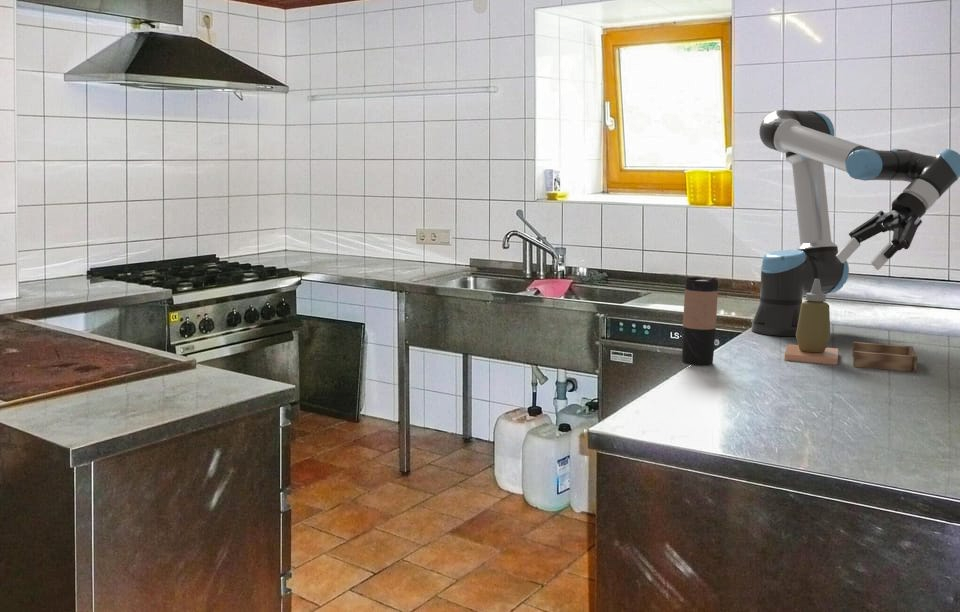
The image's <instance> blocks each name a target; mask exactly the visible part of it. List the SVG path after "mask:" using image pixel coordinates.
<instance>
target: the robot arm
mask: <svg viewBox="0 0 960 612" xmlns="http://www.w3.org/2000/svg"><path fill="white" fill-rule="evenodd" d="M834 127H835V126H834V124H833V121H831V119H830V118H829V116H827V115H826V114H824V113H821V112H817V111H813V110H793V109H792V110H791V109H790V110H788V109H779V110H775V111H773V112H771V113H769V114H767V115H766V116H765V117H764V118H763V120H762V121H761V124H760V126H759V137H760V140H761V141H760V142H762V144H763V145H764V146H765V147H767V149H770V150H774V151H777V152H780V153H782V154H783V153H784V154H785V159H786V161H787V162H788V163H789V164H791V166H792V168H791V169H792V174H793V175H792V177H793V184H794V196H795V204H796V205H795V207H796V214H797V225H798V236H799V243H800V244H799V245H798V247H797V248H796V249H785V250H784V249H780V250H773V251H769V252H767V253H766V254H765V255H764V256H763V257H762V263H761V266H760V288H759V289H760V290H759V291H760V292H759V305H758V307H757V309H756V311H755V314H754V316H753V320H752V322H751V331H752V332H754V333H758V334H762V335H768V336H769V335H770V336H779V337H796V331H797V325H798V320H799V314H800V309H801V304H802V303H803V297H804V296H806V293H811V289H812V286H813V283H814V279H820V285H821V291H822V294H826V295H828V294H834V293H837V292H838V291H840V290H841V289H842V288H843V287H844V285H845V284H846V283H847V281H848V278H849V274H850V267H849V264H848V263H849V262H848V259H849V258H850V257H851V256H852V255H853V254H854V252H855V251H857V249H858V248H860V246H861V243H863V242H865V241H867V240H869V239H870V238H872V237H874V236H876V235H878V234H880V233H886V232H890V231H891V232H893V235H892V239H890V242H888V243H887V244H886V245H885V246H884V247H883V248H882V249H881V250H880V251H879V252H878V253H877V254H876V255H875V256H874V258H873V259H871V261H870V263H871V264H872V266H873V267H874V268H875V269H876V270H877V271H880V269H882V267H883V266H884V265H885V264H886V263H887V262H888V261H889V260H890V259H892V258H893V256H894V255H895V254H896V253H897V252H899V251H901V250H903V249H904V250H908V249H909V248H910V247H911V244H912V241H913V240H914V237H915V235H916V233H917V230H918V228H919V227H920V225H921V224H922V223H923V220H922V217H923V216H924V215H926V212H927V211H928V210H929V209H930V208H931V207H932V206H933V205H934V204H935V203H937V201H938V200H939V199H940V198H941V197H942V195H943V194H945V193H946V191H948V189H949V188H950V187H952V185H953V184H955V182H957V181H958V179H959V178H960V153H958V152H957V151H955V150H953V149H948V148H946V149H942V150H941V151H940V152H938V153H937V154H936V155H935V156H934V155H928V154H923V153H917V152H914V151H911V150H909V149H901V148H892V149H891V150H882V149H881V150H879V149H875V148H871V147H867V146H864V145H862V144H858V143H855V142H853V141H849V140H847V139H844V138H841V137H837V136H835V128H834ZM824 165H827V166H830V167H832V168H835V169H838V170H840V171H843V172H846V173H847V174H848V175H849V177H850V178H852V179H854V180H860V181H865V182H866V181H893V182H894V181H897V182H898V181H902V182H903V181H904V182H907V183H909V184H908V185H907V186H906V187H905V188H904V189H903V190H902V192H901V193H899V195H898V196H897V197H896V198H895V199H894V200H893V201H892V202H891V210H890V211H888V212H887V213H885V212H884V211H883V210H882V209H881V210H880V211H878V212H877V213H876V214H874V216H872V217H870V218H869V219H867V220H866V221H864V222H863V223H861V224H860V225H859V226H857V227H856V228H854V229H853V230H851V231H850V232H849V233H848V235H849V237H850V239H849V240H848V242H846V243H845V245H844V246H842V248H841V249H840V250H838V247H839V246H838V245H837V244H836V243H834V242H833V240H832V235H831V226H830V215H829V214H830V213H829V207H828V196H827V195H828V193H827V186H826V179H825V178H826V177H825V167H824Z"/></svg>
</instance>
